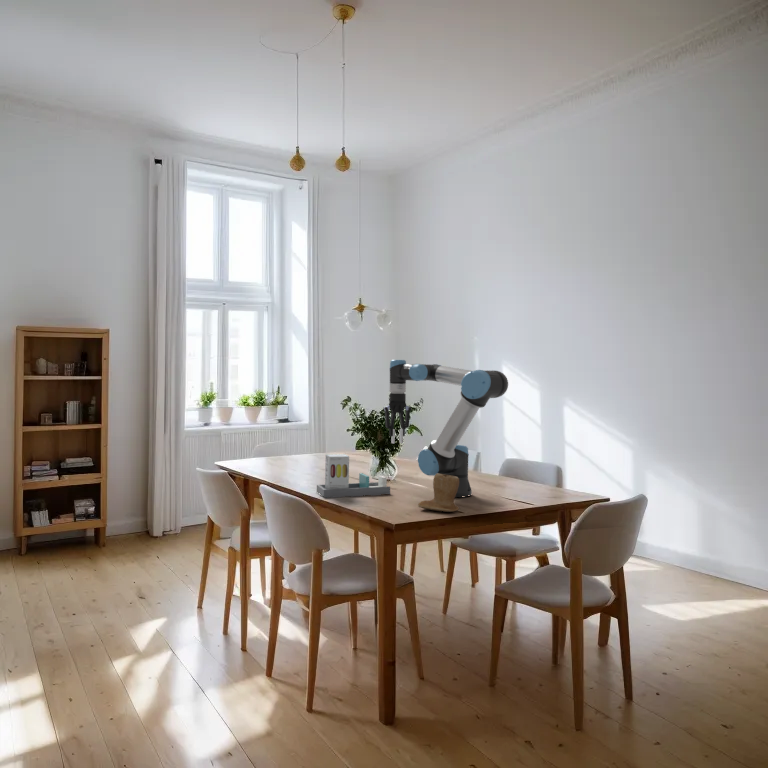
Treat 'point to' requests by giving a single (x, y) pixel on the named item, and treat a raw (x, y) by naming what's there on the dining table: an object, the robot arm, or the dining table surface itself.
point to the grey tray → (353, 490)
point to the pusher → (365, 481)
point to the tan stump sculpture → (442, 494)
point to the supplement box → (336, 471)
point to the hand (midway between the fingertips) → (397, 443)
